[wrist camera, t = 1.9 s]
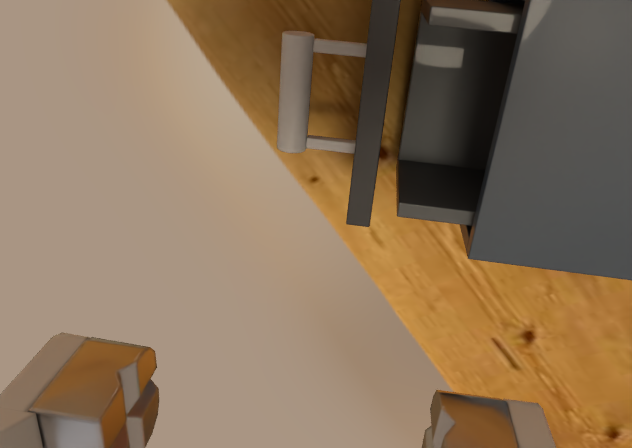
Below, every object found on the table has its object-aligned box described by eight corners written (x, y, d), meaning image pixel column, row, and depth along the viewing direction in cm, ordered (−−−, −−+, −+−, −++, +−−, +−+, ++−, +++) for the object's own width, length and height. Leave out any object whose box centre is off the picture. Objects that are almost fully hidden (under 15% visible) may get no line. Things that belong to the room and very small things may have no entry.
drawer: (289, 163, 35) (264, 214, 28) (301, -31, 30) (273, -27, 23) (538, 193, 34) (575, 254, 27) (595, -4, 28) (660, 8, 22)
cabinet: (449, 186, 35) (467, 259, 27) (493, -26, 29) (534, -20, 21) (649, 210, 34) (735, 294, 26) (735, -5, 28) (882, 12, 20)
